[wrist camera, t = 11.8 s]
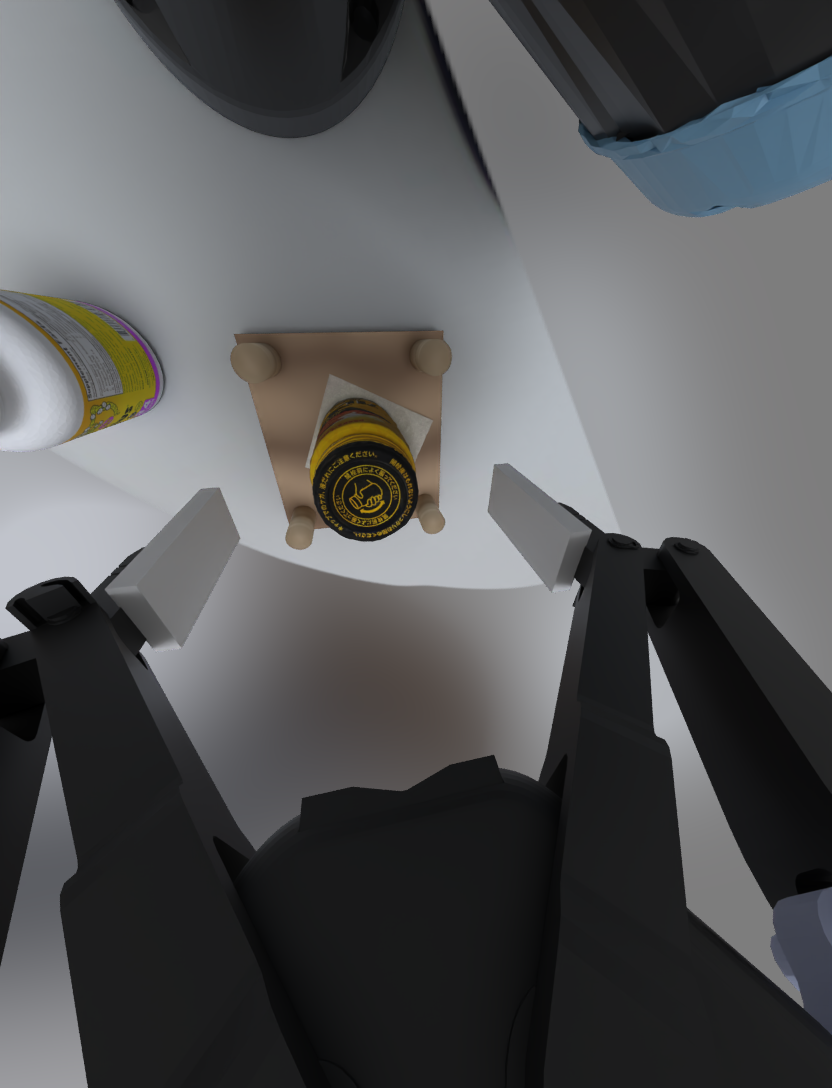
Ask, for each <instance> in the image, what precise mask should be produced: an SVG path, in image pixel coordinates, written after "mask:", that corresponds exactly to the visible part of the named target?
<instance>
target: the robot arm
mask: <svg viewBox="0 0 832 1088" xmlns="http://www.w3.org/2000/svg"><path fill="white" fill-rule="evenodd" d="M489 1H490V2H491V4H492V5H493V6H494V7H495V9H496V10H497V12H498V13H499V14H500V16H501V17H502V18H503V20H504V21H505V22H506V23H507V25H508V26H509V27H510V29H511V30H512V31H513V33H514V34H515V35H516V37H517V38H518V39H519V41H520V42H521V43H522V45H523V46H524V47H525V48H526V50H527V51H528V52H529V54H530V55H531V56H532V58H533V59H534V60H535V62H536V63H537V64H538V66H539V67H540V68H541V70H542V71H543V72H544V73H545V75H546V76H547V77H548V79H549V80H550V81H551V83H552V84H553V85H554V87H555V88H556V89H557V91H558V92H559V93H560V95H561V96H562V97H563V98H564V100H565V101H566V102H567V104H568V105H569V106H570V108H571V109H572V110H573V112H574V113H575V114H576V116H577V117H578V118H579V129H578V131H579V133H580V135H581V137H582V139H583V140H584V142H585V144H586V145H587V146H588V147H589V148H590V149H591V150H592V151H594V152H595V153H596V154H598V155H603V156H605V157H609V158H611V159H612V160H613V161H614V162H615V163H616V165H617V166H618V167H619V168H620V169H621V170H622V171H623V172H624V173H625V175H626V176H628V178H629V179H630V180H631V181H632V182H633V183H634V184H635V185H636V187H637V188H638V189H639V190H640V191H641V192H642V193H643V194H644V195H645V197H646V198H647V199H648V200H649V201H650V202H651V203H652V204H654V205H655V206H657V207H659V208H660V209H662V210H664V211H666V212H669V213H671V214H675V215H680V216H686V217H705V216H710V215H715V214H719V213H723V212H725V211H727V210H730V209H732V208H734V207H742V208H743V207H745V208H755V207H759V206H763V205H766V204H770V203H773V202H776V201H778V200H781V199H784V198H787V197H790V196H793V195H795V194H798V193H800V192H803V191H805V190H808V189H810V188H813V187H815V186H818V185H820V184H822V183H825V182H827V181H829V180H832V0H489ZM115 2H116V3H117V5H118V6H119V8H120V9H121V11H122V12H123V14H124V15H125V17H126V18H127V19H128V21H129V22H130V23H131V25H132V26H133V28H134V29H135V30H136V32H137V33H138V34H139V36H140V37H141V38H142V39H143V41H144V42H145V43H146V44H147V46H148V47H149V48H150V49H151V51H152V52H153V53H154V54H155V55H156V56H157V58H158V59H159V60H160V61H161V62H162V63H163V64H164V66H165V67H166V68H167V69H168V70H169V71H170V72H171V73H172V74H173V75H174V76H175V77H176V78H177V79H178V80H179V81H180V82H181V83H182V84H183V85H184V86H185V87H187V88H188V89H189V90H190V91H191V92H192V93H193V94H195V95H196V96H197V97H198V98H199V99H200V100H202V101H203V102H204V103H206V104H207V105H208V106H210V107H211V108H212V109H214V110H215V111H217V112H218V113H220V114H221V115H223V116H225V117H226V118H228V119H230V120H232V121H233V122H235V123H237V124H239V125H241V126H244V127H246V128H248V129H250V130H253V131H256V132H259V133H263V134H267V135H271V136H277V137H303V136H308V135H313V134H316V133H319V132H322V131H324V130H326V129H328V128H330V127H332V126H334V125H335V124H337V123H338V122H340V121H341V120H343V119H344V118H345V117H346V116H348V115H349V114H350V113H351V112H352V111H353V110H354V109H355V108H356V107H357V106H358V105H359V104H360V102H361V101H362V100H363V99H364V97H365V96H366V95H367V93H368V92H369V90H370V89H371V87H372V86H373V84H374V83H375V81H376V79H377V77H378V76H379V74H380V72H381V70H382V68H383V66H384V63H385V61H386V59H387V56H388V54H389V51H390V49H391V46H392V43H393V40H394V37H395V34H396V31H397V28H398V24H399V20H400V17H401V13H402V8H403V4H404V0H115ZM488 513H489V514H490V515H491V517H492V518H493V519H494V521H495V522H496V523H497V524H498V526H499V527H500V528H501V529H502V531H503V532H504V533H505V534H506V536H507V537H508V538H509V539H510V541H511V542H512V543H513V545H514V546H515V547H516V548H517V550H518V551H519V552H520V553H521V555H522V556H523V557H524V558H525V560H526V561H527V562H528V563H529V565H530V566H531V567H532V568H533V570H534V571H535V572H536V574H537V575H538V576H539V577H540V579H541V580H542V581H543V582H544V584H545V585H546V586H547V587H548V589H549V590H550V591H551V592H552V593H554V592H560V591H567V590H570V588H571V585H572V583H573V580H574V578H575V579H576V580H577V581H578V582H579V583H580V584H581V585H580V588H579V591H578V593H577V595H576V598H575V601H574V603H573V606H574V607H575V610H574V615H573V620H572V625H571V631H570V635H569V641H568V646H567V651H566V656H565V661H564V666H563V672H562V677H561V682H560V687H559V693H558V698H557V703H556V708H555V713H554V719H553V724H552V729H551V734H550V739H549V744H548V750H547V754H546V758H545V761H544V764H543V768H542V771H541V774H540V777H539V781H536V780H534V779H532V778H530V777H528V776H526V775H523V774H521V773H518V772H515V771H511V770H507V769H502V768H498V765H497V762H496V759H495V756H494V755H491V756H487V757H482V758H478V759H473V760H469V761H465V762H461V763H456V764H452V765H449V766H447V767H445V768H444V769H442V770H440V771H439V772H437V773H435V774H434V775H432V776H430V777H428V778H427V779H425V780H424V781H422V782H420V783H418V784H417V785H415V786H413V787H412V788H410V789H408V790H405V791H392V790H381V789H369V788H360V787H350V788H345V789H341V790H336V791H332V792H328V793H323V794H318V795H314V796H309V797H305V798H302V805H301V814H300V815H298V816H297V817H295V818H293V819H292V820H290V821H289V822H288V823H286V824H285V825H284V826H282V827H281V828H280V829H279V830H277V831H276V832H275V833H274V834H273V835H272V836H271V837H270V838H268V840H267V841H266V842H265V843H264V844H263V845H262V846H261V847H260V848H259V849H258V850H257V851H255V849H254V848H253V846H252V845H251V843H250V842H249V841H248V839H247V838H246V837H245V835H244V834H243V833H242V831H241V830H240V828H239V827H238V825H237V824H236V822H235V820H234V818H233V817H232V815H231V813H230V811H229V810H228V808H227V806H226V804H225V802H224V800H223V798H222V797H221V795H220V793H219V791H218V790H217V788H216V786H215V784H214V782H213V781H212V779H211V777H210V775H209V773H208V772H207V769H206V768H205V766H204V764H203V763H202V760H201V759H200V757H199V755H198V753H197V751H196V750H195V748H194V746H193V744H192V742H191V741H190V739H189V737H188V735H187V733H186V731H185V730H184V728H183V726H182V724H181V722H180V721H179V719H178V717H177V715H176V713H175V712H174V710H173V708H172V706H171V704H170V703H169V701H168V699H167V697H166V695H165V693H164V691H163V690H162V688H161V686H160V684H159V682H158V681H157V679H156V677H155V675H154V673H153V672H152V670H151V668H150V666H149V664H148V662H147V661H146V659H145V657H144V656H143V655H142V654H141V653H140V652H139V650H140V649H141V648H142V646H143V644H144V643H145V641H147V642H148V643H149V644H150V646H151V647H152V648H153V650H154V651H155V652H161V651H167V650H174V649H181V648H182V647H183V645H184V643H185V641H186V639H187V637H188V635H189V634H190V632H191V630H192V628H193V626H194V624H195V623H196V620H197V619H198V617H199V615H200V613H201V611H202V609H203V607H204V605H205V604H206V602H207V600H208V598H209V596H210V594H211V592H212V591H213V589H214V587H215V585H216V583H217V581H218V579H219V577H220V575H221V574H222V572H223V570H224V568H225V566H226V564H227V562H228V560H229V558H230V557H231V555H232V553H233V551H234V549H235V547H236V545H237V544H238V542H239V540H240V536H239V534H238V531H237V529H236V527H235V524H234V522H233V519H232V517H231V515H230V512H229V510H228V507H227V505H226V503H225V500H224V498H223V495H222V493H221V490H220V488H207V489H200V490H199V491H198V493H197V494H196V495H195V496H194V497H193V498H192V499H191V500H190V501H189V502H188V503H187V504H186V505H185V506H184V507H183V508H182V509H181V510H180V511H179V512H178V513H177V514H176V515H175V516H174V518H173V519H172V520H171V521H170V522H169V523H168V524H167V525H166V526H165V527H164V528H163V529H162V530H161V531H160V532H159V533H158V534H157V535H156V536H155V537H154V538H153V539H152V540H151V542H150V543H149V544H148V545H147V546H146V547H143V548H141V549H140V550H138V551H136V552H134V553H133V554H131V555H130V556H128V557H127V558H126V559H125V560H124V561H123V562H122V563H121V564H120V565H119V568H116V569H115V570H114V571H113V572H112V573H111V576H108V577H107V578H106V579H105V580H104V581H103V582H102V583H101V584H100V585H99V586H98V587H97V588H96V589H95V590H94V591H93V592H92V593H91V594H90V593H89V592H88V591H87V590H86V589H85V588H84V587H83V585H82V584H81V583H80V582H79V581H78V580H77V579H76V578H74V577H61V578H55V579H51V580H48V581H45V582H41V583H39V584H37V585H34V586H32V587H30V588H28V589H26V590H24V591H22V592H21V593H19V594H17V595H16V596H15V597H13V598H12V599H11V600H10V601H9V602H8V603H7V606H6V609H7V610H8V611H9V612H10V613H11V614H12V615H13V616H14V617H16V618H17V619H18V620H19V621H20V622H22V624H24V625H25V626H26V627H27V628H28V629H29V630H30V631H28V632H24V633H21V634H18V635H15V636H11V637H8V638H4V639H1V638H0V965H1V961H2V956H3V952H4V947H5V943H6V939H7V934H8V930H9V925H10V920H11V916H12V912H13V908H14V903H15V899H16V894H17V890H18V885H19V880H20V876H21V871H22V867H23V863H24V858H25V854H26V849H27V845H28V841H29V836H30V831H31V827H32V822H33V818H34V814H35V809H36V805H37V800H38V796H39V791H40V787H41V782H42V778H43V774H44V768H45V765H46V760H47V756H48V751H49V747H50V742H51V738H53V743H54V748H55V753H56V758H57V762H58V767H59V772H60V777H61V781H62V787H63V792H64V796H65V801H66V806H67V811H68V816H69V820H70V826H71V830H72V835H73V840H74V845H75V850H76V855H77V859H78V869H77V872H76V874H75V875H73V876H72V877H71V878H70V879H69V880H67V881H66V882H65V883H64V885H63V888H62V891H61V894H60V912H61V918H62V925H63V931H64V938H65V944H66V950H67V957H68V963H69V969H70V976H71V982H72V989H73V995H74V1001H75V1008H76V1014H77V1021H78V1027H79V1033H80V1040H81V1046H82V1053H83V1059H84V1065H85V1071H86V1078H87V1084H88V1088H832V693H831V691H830V690H829V689H828V688H827V687H826V685H825V684H824V683H823V682H822V681H821V680H820V679H819V677H818V676H817V675H816V674H815V673H814V672H813V670H812V669H811V668H810V667H809V666H808V665H807V663H806V662H805V661H804V660H803V659H802V658H801V656H800V655H799V654H798V653H797V652H796V650H795V649H794V648H793V647H792V646H791V645H790V644H789V642H788V641H787V640H786V639H785V638H784V637H783V635H782V634H781V633H780V632H779V631H778V630H777V628H776V627H775V626H774V625H773V624H772V623H771V621H770V620H769V619H768V618H767V617H766V616H765V614H764V613H763V612H762V611H761V610H760V609H759V607H758V606H757V605H756V604H755V603H754V602H753V600H752V599H751V598H750V597H749V596H748V595H747V593H746V592H745V591H744V590H743V589H742V588H741V586H739V584H738V583H737V582H736V581H735V580H734V578H733V577H732V576H731V575H730V574H729V573H728V571H727V570H726V569H725V568H724V567H723V565H722V564H721V563H720V562H719V561H718V560H717V558H716V557H715V556H714V555H713V554H712V553H711V552H710V550H708V549H707V548H706V547H705V546H703V545H701V544H699V543H698V542H696V541H693V540H692V541H691V539H687V538H685V539H684V538H677V537H670V538H666V539H665V540H664V541H663V543H662V545H661V547H660V549H653V548H642V547H641V545H640V544H639V543H638V542H637V541H636V540H634V539H632V538H630V537H628V536H625V535H621V534H615V533H606V534H605V533H604V532H603V531H601V530H600V529H599V528H597V527H596V526H595V525H594V524H592V523H591V522H590V521H588V520H586V519H585V518H584V517H583V516H582V515H579V513H578V512H577V511H575V510H574V509H573V508H571V507H569V506H567V505H565V504H562V503H557V502H556V501H555V500H553V499H552V498H551V497H550V496H548V495H547V494H546V493H545V492H543V491H542V490H541V489H540V488H538V487H537V486H536V485H535V484H533V483H532V482H531V481H530V480H528V479H527V478H526V477H525V476H523V475H522V474H521V473H520V472H518V471H517V470H516V469H515V468H513V467H512V466H511V465H510V464H508V463H507V464H495V465H494V469H493V477H492V484H491V492H490V499H489V506H488ZM647 631H648V632H647ZM648 633H649V636H650V638H651V641H652V643H653V645H654V648H655V650H656V652H657V655H658V657H659V659H660V662H661V664H662V667H663V669H664V672H665V674H666V676H667V679H668V681H669V684H670V686H671V688H672V691H673V693H674V695H675V698H676V700H677V703H678V705H679V707H680V710H681V712H682V714H683V717H684V719H685V722H686V724H687V726H688V729H689V731H690V734H691V736H692V738H693V741H694V743H695V745H696V748H697V750H698V753H699V755H700V758H701V760H702V762H703V765H704V767H705V769H706V772H707V774H708V776H709V779H710V781H711V784H712V786H713V788H714V791H715V793H716V795H717V798H718V800H719V803H720V805H721V808H722V810H723V812H724V815H725V817H726V820H727V822H728V824H729V827H730V829H731V831H732V833H733V835H734V837H735V840H736V842H737V844H738V846H739V848H740V850H741V853H742V855H743V857H744V859H745V861H746V863H747V865H748V866H749V868H750V870H751V872H752V873H753V875H754V877H755V879H756V881H757V882H758V885H759V886H760V888H761V890H762V892H763V894H764V895H765V897H766V899H767V901H768V902H769V904H770V906H771V907H772V909H773V924H774V928H775V932H776V934H775V935H774V936H772V937H771V946H770V947H771V950H772V953H773V956H774V959H775V961H776V963H777V964H778V966H779V967H780V969H781V971H782V972H783V974H784V976H785V977H786V978H787V979H788V980H789V981H790V982H791V983H792V984H793V985H794V987H796V989H797V990H798V991H800V993H801V996H802V1000H803V1003H804V1009H803V1008H802V1007H801V1006H800V1005H799V1004H797V1003H796V1002H795V1001H794V1000H793V999H792V998H790V997H789V996H788V995H787V994H786V993H785V992H784V991H782V990H781V989H780V988H779V987H778V986H776V985H775V984H774V983H773V982H772V981H771V980H770V979H768V978H767V977H766V976H765V975H764V974H763V973H762V972H760V971H759V970H758V969H757V968H756V967H755V966H754V965H752V964H751V963H750V962H749V961H748V960H747V959H746V958H744V957H743V956H742V955H741V954H740V953H738V952H737V951H736V950H735V949H734V948H733V947H732V946H730V945H729V944H728V943H727V942H726V941H725V940H724V939H722V938H721V937H720V936H719V935H718V934H717V933H716V932H714V931H713V930H712V929H711V928H710V927H709V926H707V925H706V924H705V923H704V922H703V921H702V920H701V919H699V918H698V917H697V916H696V915H694V914H693V913H692V912H691V911H690V910H689V909H688V908H687V907H686V897H685V887H684V877H683V868H682V857H681V849H680V848H681V847H680V837H679V828H678V818H677V808H676V798H675V788H674V778H673V770H672V769H673V768H672V758H671V754H670V749H669V746H668V744H667V743H666V741H665V740H664V739H662V738H660V737H657V736H656V734H655V733H654V726H653V713H652V712H653V711H652V695H651V679H650V665H649V664H650V663H649V649H648Z"/></svg>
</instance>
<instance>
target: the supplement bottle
mask: <svg viewBox="0 0 832 1088" xmlns="http://www.w3.org/2000/svg"><path fill="white" fill-rule="evenodd" d="M162 391H163V375H162V371H161V367H160V364H159V362H158V360H157V358H156V356H155V355H154V353H153V351H152V350H151V348H150V347H149V345H148V344H147V342H146V341H145V340H144V339H143V338H142V337H141V336H140V335H139V333H138V332H137V331H135V330H134V329H133V328H132V327H131V326H130V325H129V324H127V323H126V322H125V321H123V320H122V319H120V318H119V317H117V316H116V315H114V314H112V313H110V312H108V311H106V310H104V309H102V308H100V307H97V306H94V305H91V304H88V303H84V302H79V301H73V300H67V299H60V298H53V297H47V296H40V295H34V294H27V293H20V292H14V291H7V290H0V450H2V451H12V452H29V451H38V450H43V449H48V448H51V447H54V446H57V445H60V444H63V443H65V442H68V441H71V440H73V439H76V438H79V437H82V436H84V435H87V434H90V433H93V432H96V431H98V430H101V429H104V428H107V427H110V426H112V425H116V424H118V423H121V422H124V421H126V420H129V419H132V418H134V417H137V416H140V415H142V414H144V413H146V412H148V411H149V410H151V409H152V408H153V407H154V406H155V405H156V404H157V403H158V401H159V400H160V397H161V395H162Z"/></svg>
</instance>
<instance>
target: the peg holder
mask: <svg viewBox="0 0 832 1088" xmlns="http://www.w3.org/2000/svg"><path fill="white" fill-rule="evenodd" d="M234 336H235V339H236V343H237V346H235V347H234V348H233V350H232V352H231V364H232V367H233V369H234V371H235V372H236V374H237V375H238V376H239V377H240V378H241V379H243V380H244V381H246V382H248V384H249V387H250V391H251V394H252V398H253V401H254V405H255V408H256V412H257V415H258V418H259V422H260V425H261V429H262V432H263V436H264V439H265V443H266V446H267V449H268V453H269V456H270V460H271V463H272V467H273V470H274V474H275V477H276V480H277V484H278V487H279V491H280V494H281V498H282V501H283V505H284V508H285V511H286V515H287V518H288V522H289V527H288V530H287V533H286V537H285V539H286V542H287V544H288V545H289V546H290V547H292V548H294V549H298V550H302V549H306V548H308V547H309V546H310V545H311V543H312V539H313V533H314V529H321V528H330V527H329V526H327V525H326V524H325V523H324V521H323V519H322V518H321V517H320V515H319V513H318V511H317V508H316V506H315V504H314V498H313V491H312V484H311V480H310V469H309V468H306V467H305V466H306V462H307V458H308V454H309V451H310V446H311V443H312V439H313V435H314V431H315V428H316V424H317V420H318V416H319V412H320V408H321V405H322V401H323V397H324V393H325V389H326V385H327V382H328V378H329V374H331V375H333V376H336V377H338V378H340V379H342V380H345V381H347V382H349V383H351V384H353V385H356V386H358V387H360V388H362V389H364V390H367V391H369V392H371V393H373V394H376V395H378V396H380V397H382V398H384V399H387V400H389V401H391V402H393V403H395V404H397V405H400V406H402V407H404V408H406V409H408V410H411V411H413V412H415V413H417V414H420V415H422V416H424V417H426V418H429V419H431V420H433V422H432V424H431V426H430V429H429V431H428V433H427V435H426V437H425V440H424V442H423V445H422V447H421V449H420V451H419V453H418V455H417V458H416V461H415V468H416V477H417V482H418V489H419V494H418V502H417V506H416V509H415V510H414V513H413V515H412V517H411V518H410V519H412V518H419V521H420V523H421V525H422V528H423V530H424V531H425V532H426V533H428V534H436V533H438V532H440V531H441V530H442V529H443V527H444V525H445V519H444V517H443V516H442V514H441V512H440V510H439V481H440V443H441V406H442V374H444V373H445V372H446V371H447V370H448V368H449V367H450V364H451V360H452V354H451V350H450V347H449V346H448V344H447V343H446V342H445V341H443V331H390V332H331V333H272V334H234Z"/></svg>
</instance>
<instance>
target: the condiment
mask: <svg viewBox="0 0 832 1088" xmlns="http://www.w3.org/2000/svg"><path fill="white" fill-rule="evenodd" d="M432 422H433V420H431V419H429V418H426V417H424V416H422V415H420V414H417V413H415V412H413V411H411V410H408V409H406V408H404V407H402V406H400V405H397V404H395V403H393V402H391V401H389V400H387V399H384V398H382V397H380V396H378V395H376V394H373V393H371V392H369V391H367V390H364V389H362V388H360V387H358V386H356V385H353V384H351V383H349V382H347V381H345V380H342V379H340V378H338V377H336V376H333V375H331V374H329V378H328V382H327V385H326V389H325V393H324V397H323V401H322V405H321V408H320V412H319V416H318V420H317V424H316V428H315V431H314V435H313V439H312V443H311V446H310V451H309V454H308V458H307V462H306V466H305V467H306V468H309V469H310V480H311V484H312V491H313V498H314V504H315V506H316V508H317V511H318V513H319V515H320V517H321V518H322V519H323V521H324V523H325V524H326V525H327V526H329V527H330V528H331V529H333V530H334V531H336V532H337V533H338V534H340V535H341V536H343V537H345V538H348V539H354V540H358V541H376V540H381V539H383V538H386V537H387V536H389V535H391V534H393V533H395V532H396V531H398V530H399V529H400V528H402V527H403V526H405V525H406V524H407V523H408V521H409V520H410V518H411V517H412V515H413V513H414V510H415V509H416V506H417V502H418V494H419V489H418V482H417V477H416V468H415V461H416V458H417V455H418V453H419V451H420V449H421V447H422V445H423V442H424V440H425V437H426V435H427V433H428V431H429V429H430V426H431V424H432Z"/></svg>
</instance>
